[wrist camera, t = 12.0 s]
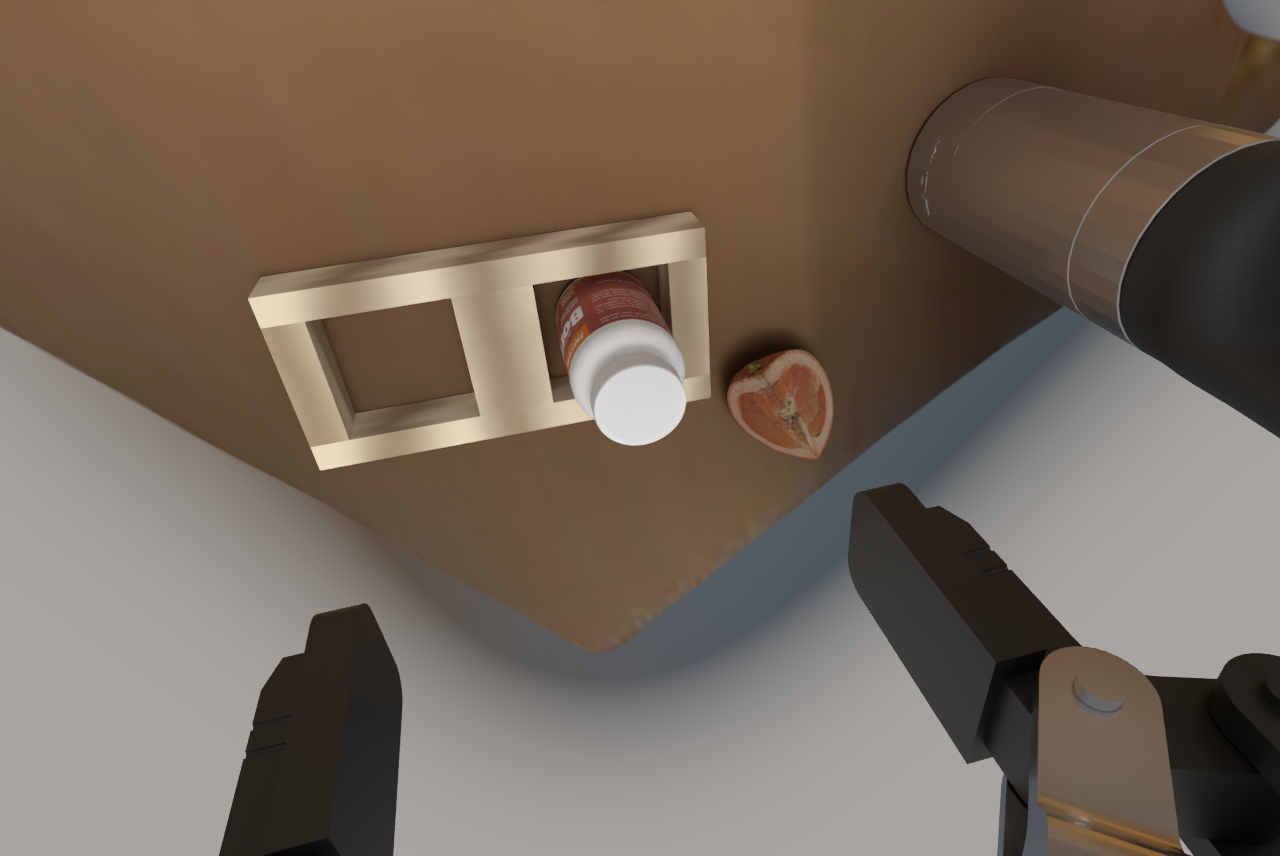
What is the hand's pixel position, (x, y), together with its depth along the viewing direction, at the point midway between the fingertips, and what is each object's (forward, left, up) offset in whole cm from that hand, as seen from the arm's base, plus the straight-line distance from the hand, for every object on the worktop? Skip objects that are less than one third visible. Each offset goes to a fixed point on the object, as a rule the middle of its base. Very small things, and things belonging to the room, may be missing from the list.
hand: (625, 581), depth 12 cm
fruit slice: (-15, +17, -32) cm, 39 cm away
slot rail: (+2, +10, -32) cm, 34 cm away
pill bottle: (-4, +10, -32) cm, 34 cm away
